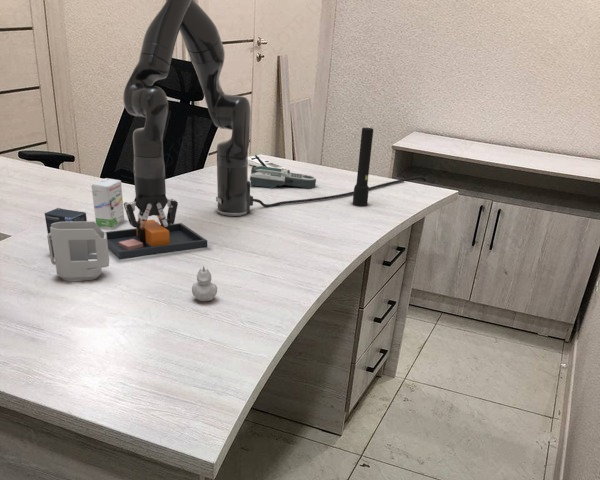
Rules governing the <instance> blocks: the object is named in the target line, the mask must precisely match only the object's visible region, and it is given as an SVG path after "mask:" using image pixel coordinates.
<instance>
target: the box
mask: <svg viewBox="0 0 600 480" xmlns="http://www.w3.org/2000/svg"><path fill="white" fill-rule="evenodd" d="M44 218H45V225H46V231H47V235H48V234H49V233H50V232H51V231H50V227H51V224H53V223H56V222H83V221H88V220H87V212H86V211H80V210H79V211H78V210H72V209H66V208H61V207H56V208H54V209H51V210H49V211H47V212H45V213H44ZM50 240H51V246H52V252H53V245H52V239H51V236H50ZM53 257H54V252H53Z"/></svg>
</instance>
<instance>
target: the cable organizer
mask: <svg viewBox="0 0 600 480" xmlns="http://www.w3.org/2000/svg"><path fill="white" fill-rule="evenodd" d="M50 231H51V232H50V233H49V234H48V233H47V235H46V238H47V239H46V240H47V244H48V250H49V256H50V257H49V258H50V262H51V264H52V265H54V266H55V270H56V275H57V276H59V278H61V279H63V280H66V281H93V280H96V279H98V278H99V277H100V275H101V274H102V273H103V269H102V268H107V267H109V266H110V252H109V249H108V243H107V234H106V232H107V231H103V230H102V229H101V228H100V226H98V225H97V224H96V221H95V220H94V221H93V220H92V221H89V220H87V221H83V222H56V223H53V224H51V227H50ZM98 234H99V235H98ZM50 236H51V239H52V245H53V252H54V256H53V252H52V246H51V240H50Z"/></svg>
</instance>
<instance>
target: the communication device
mask: <svg viewBox="0 0 600 480" xmlns="http://www.w3.org/2000/svg"><path fill="white" fill-rule="evenodd" d="M254 157H255V159H257V161H258V162H259V164H261V165H258V166H257V165H255V164H253V165H252V167H251V170H250V175H249V181H250V186H256V187H262V188H270V189H274V188H276V187H277V186H279V187H280V186H289V187H290V186H291V187H296V188H303V189H312V188H314V187H315V186H316V185H317V184H316V183H317V178H315V177H314V176H312V175H309V174H304V173H296V172H291V170H290V169H287V168H278V167H273V166H267V165H266V163H264V162H263V160H261V158H260V157H259V156H258V155H257V154H255V155H254Z"/></svg>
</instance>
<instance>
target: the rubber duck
mask: <svg viewBox="0 0 600 480" xmlns="http://www.w3.org/2000/svg"><path fill="white" fill-rule="evenodd" d="M191 293H192V295H193V296H194V297H195V299H196V300H198V301H200V302H210V301H212V300H213V299H214V298H215V297H216V296H217V294H218V286H217V284H215V283H213V282H212V273H211V271H210V270H209V269H208V268H207V269H206V268H205V265H202V268H199V270H198V271H197V274H196V282H194V283H193V284H192V286H191Z"/></svg>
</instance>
